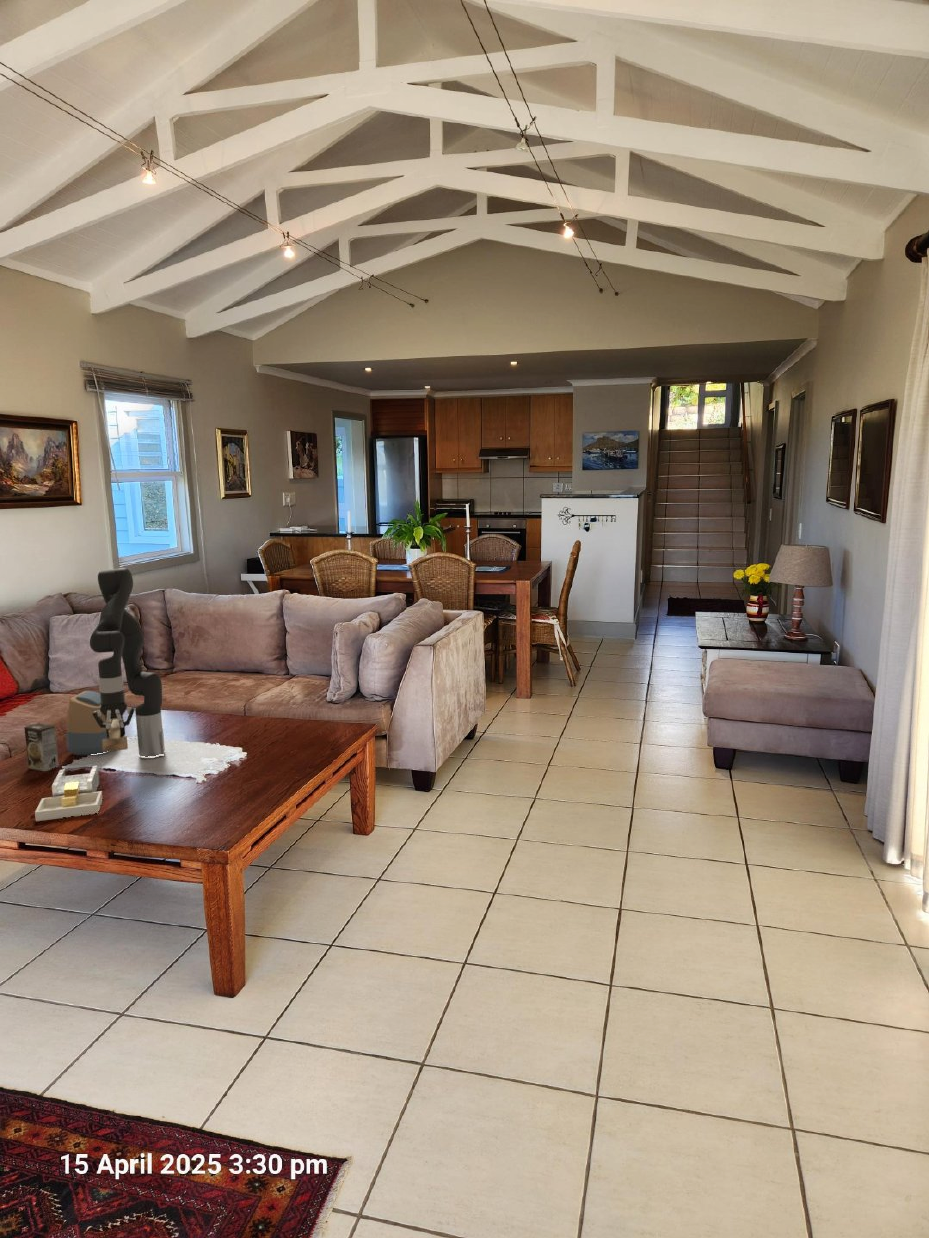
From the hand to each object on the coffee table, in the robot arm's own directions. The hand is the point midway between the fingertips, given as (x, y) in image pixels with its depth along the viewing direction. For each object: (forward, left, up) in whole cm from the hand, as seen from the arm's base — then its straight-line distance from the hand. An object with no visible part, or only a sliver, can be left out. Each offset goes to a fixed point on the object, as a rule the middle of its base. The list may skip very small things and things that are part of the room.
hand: (116, 737), depth 273 cm
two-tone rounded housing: (+14, -49, -19) cm, 54 cm away
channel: (+14, -1, -19) cm, 23 cm away
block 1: (+14, +9, -16) cm, 23 cm away
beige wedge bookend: (0, -1, -3) cm, 3 cm away
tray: (+14, +14, -19) cm, 27 cm away
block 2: (+14, +12, -16) cm, 24 cm away
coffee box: (+30, -34, -19) cm, 49 cm away
